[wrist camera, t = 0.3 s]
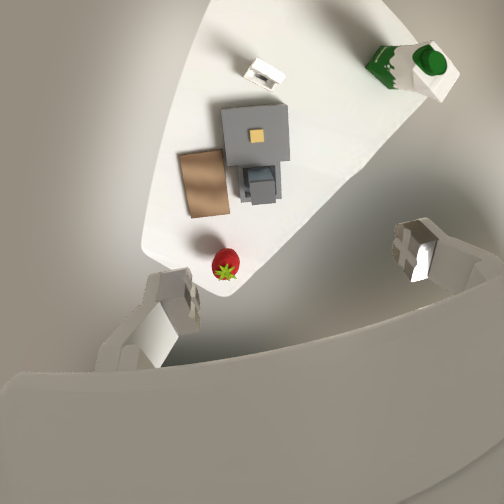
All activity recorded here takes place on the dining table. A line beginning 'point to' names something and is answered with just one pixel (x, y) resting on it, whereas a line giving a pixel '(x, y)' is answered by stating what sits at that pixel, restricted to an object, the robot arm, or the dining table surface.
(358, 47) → the dining table surface
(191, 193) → the walnut pad
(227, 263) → the strawberry
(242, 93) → the dining table surface
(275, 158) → the grey socket base
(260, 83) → the white slotted stand
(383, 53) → the milk carton
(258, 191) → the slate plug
